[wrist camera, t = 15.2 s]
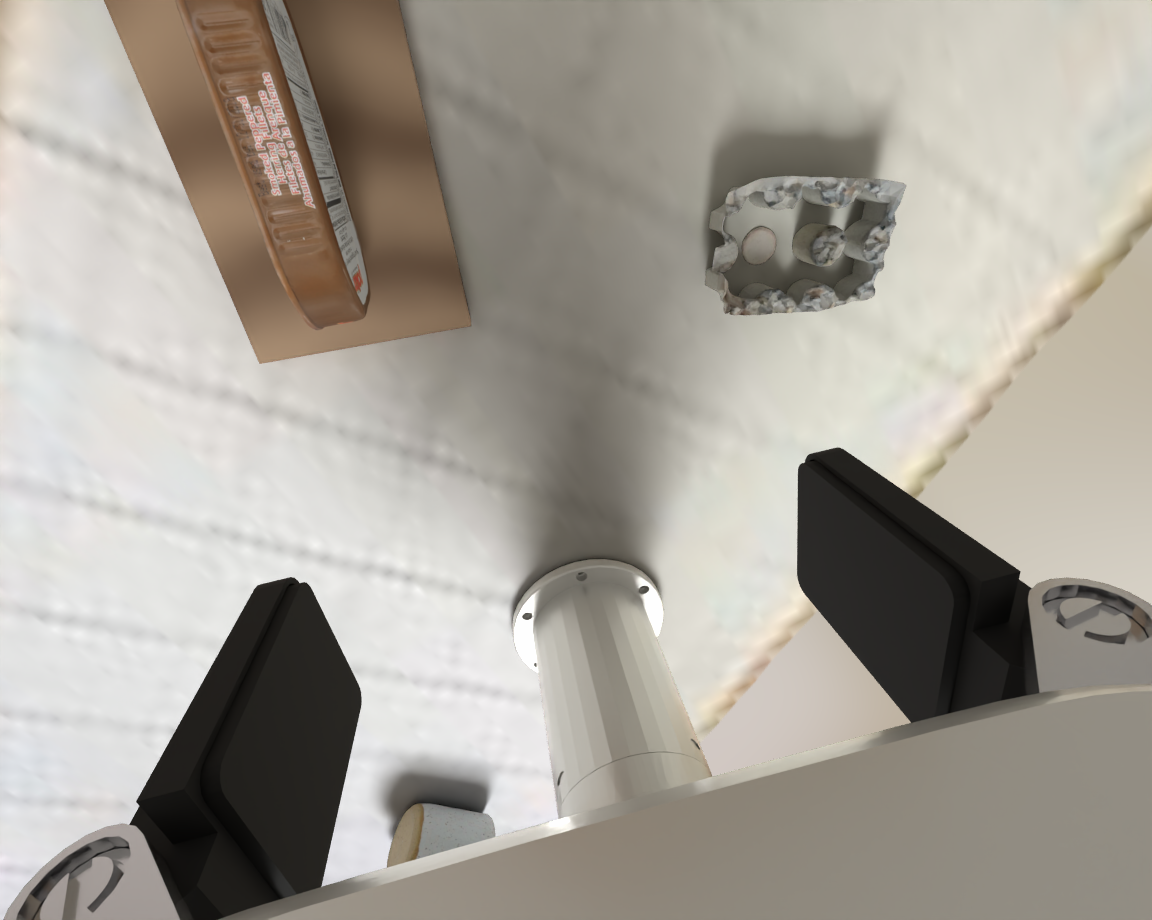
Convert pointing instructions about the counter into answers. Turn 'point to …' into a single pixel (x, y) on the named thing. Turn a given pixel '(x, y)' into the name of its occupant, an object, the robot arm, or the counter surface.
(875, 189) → the egg carton
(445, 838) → the ceramic mug
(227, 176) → the walnut board
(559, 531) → the counter surface
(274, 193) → the tin
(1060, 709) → the robot arm
